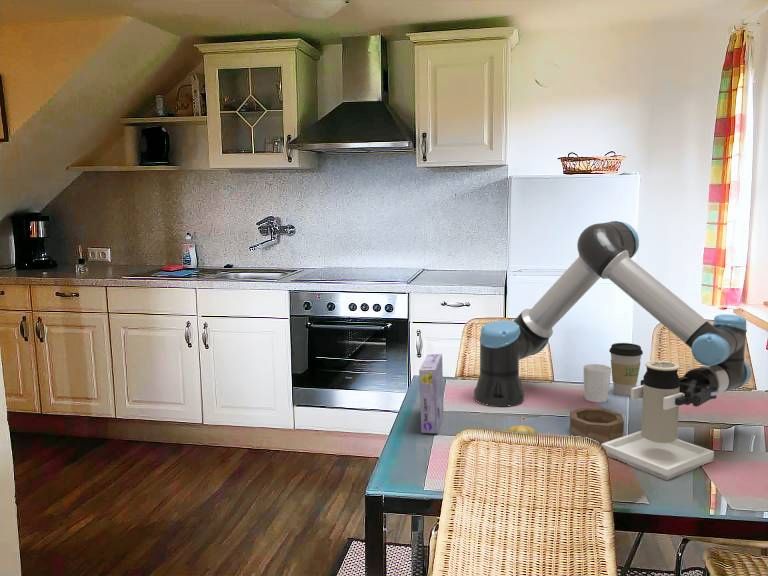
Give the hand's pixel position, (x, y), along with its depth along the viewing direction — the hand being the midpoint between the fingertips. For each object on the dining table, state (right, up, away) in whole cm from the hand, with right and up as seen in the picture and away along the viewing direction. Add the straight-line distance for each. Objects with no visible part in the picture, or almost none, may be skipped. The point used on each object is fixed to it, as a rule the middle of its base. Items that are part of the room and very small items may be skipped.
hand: (648, 398), depth 156 cm
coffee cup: (+14, -7, +54) cm, 56 cm away
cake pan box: (-48, -12, +31) cm, 58 cm away
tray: (+4, -15, +5) cm, 16 cm away
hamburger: (-30, -16, 0) cm, 34 cm away
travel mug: (+4, -10, +4) cm, 12 cm away
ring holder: (-6, -13, +20) cm, 24 cm away
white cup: (+3, -8, +48) cm, 49 cm away
